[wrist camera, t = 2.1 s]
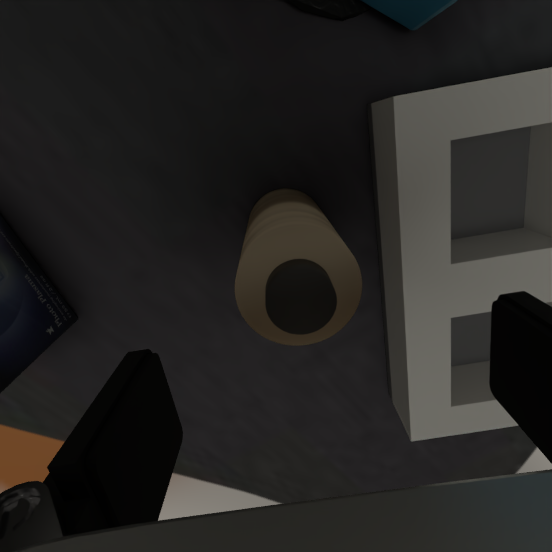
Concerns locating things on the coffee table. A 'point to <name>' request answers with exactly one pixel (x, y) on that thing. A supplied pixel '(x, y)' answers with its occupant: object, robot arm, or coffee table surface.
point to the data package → (410, 10)
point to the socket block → (458, 237)
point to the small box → (26, 308)
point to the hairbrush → (332, 7)
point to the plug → (295, 271)
